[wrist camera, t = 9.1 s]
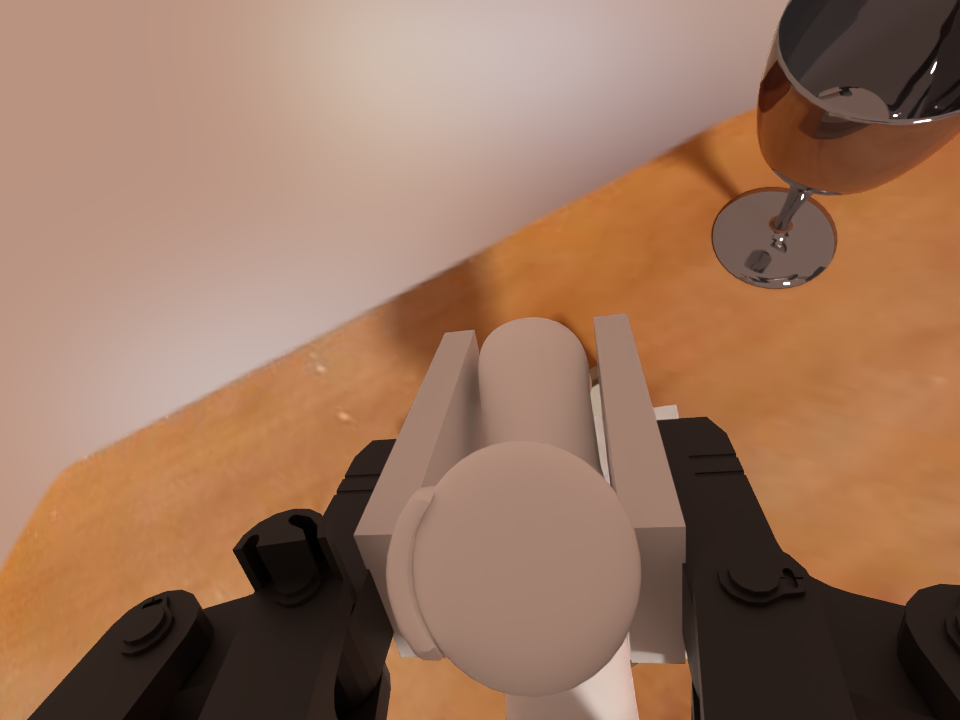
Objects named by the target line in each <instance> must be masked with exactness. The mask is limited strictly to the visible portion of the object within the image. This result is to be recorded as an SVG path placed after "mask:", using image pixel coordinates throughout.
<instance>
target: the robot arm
mask: <svg viewBox="0 0 960 720" xmlns="http://www.w3.org/2000/svg"><path fill="white" fill-rule="evenodd" d="M593 318H594V330H595V341H596V353H597V365H598V377H599V388H600V400H601V412H602V420H603V429H604V437H605V445H606V454H607V462H608V470H609V479H610V486H611V487H612V488H613V490H614V491H615V492H616V494H617V495H618V497H619V499H620V500H621V502H622V504H623V505H624V507H625V509H626V510H627V513H628V515H629V518H630V520H631V523H632V525H633V528H634V530H635V534H636V538H637V543H638V547H639V552H640V561H641V577H642V578H641V587H640V597H639V603H638V607H637V610H636V614H635V617H634V621H633V624H632V626H631V628H630V630H629V632H628V636H629V645H630V653H631V661H632V663H673V664H685V654H687V658H688V663H689V667H690V672H691V677H692V717H691V720H960V585H948V584H938V585H935V586H931V587H927V588H924V589H920V590H918V591H917V592H916V593H915V594H914V595H913V597H912V598H911V599H910V600H909V601H908V602H907V604H906V606H903V605H898V604H894V603H890V602H886V601H882V600H878V599H874V598H869V597H865V596H861V595H857V594H853V593H850V592H846V591H843V590H840V589H837V588H834V587H831V586H829V585H827V584H825V583H823V582H821V581H819V580H817V579H815V578H813V577H811V576H810V575H809V574H808V572H807V570H806V569H805V568H803V567H802V566H801V565H800V564H799V563H798V562H797V561H796V560H794V559H793V558H792V557H791V556H790V555H789V554H787V553H785V552H783V551H782V549H781V548H780V546H779V545H778V543H777V541H776V539H775V537H774V535H773V533H772V531H771V528H770V526H769V524H768V522H767V520H766V518H765V515H764V513H763V511H762V509H761V507H760V505H759V502H758V500H757V498H756V496H755V494H754V492H753V490H752V487H751V485H750V483H749V481H748V479H747V477H746V475H744V470H743V468H742V466H741V464H740V461H739V459H738V457H737V458H736V453H735V451H734V448H733V446H732V444H731V442H730V440H729V438H728V435H727V433H726V432H724V431H723V430H722V429H721V428H719V427H718V426H717V425H716V424H714V423H713V422H712V421H711V420H710V419H708V418H707V417H696V418H681V419H666V420H656V417H655V414H654V410H653V406H652V403H651V399H650V396H649V392H648V388H647V385H646V381H645V377H644V374H643V370H642V367H641V363H640V359H639V356H638V352H637V349H636V345H635V341H634V338H633V334H632V330H631V327H630V323H629V320H628V316H627V313H625V314H615V315H606V316H597V317H593ZM479 355H480V354H479V349H478V344H477V339H476V334H475V330H466V331H456V332H447V333H445V334H444V336H443V338H442V340H441V342H440V345H439V347H438V349H437V351H436V353H435V356H434V358H433V360H432V362H431V365H430V367H429V369H428V371H427V373H426V376H425V378H424V380H423V382H422V384H421V387H420V389H419V391H418V393H417V396H416V398H415V400H414V402H413V404H412V407H411V409H410V411H409V413H408V415H407V418H406V420H405V422H404V424H403V427H402V429H401V431H400V433H399V435H398V438H397V439H389V440H374V441H372V442H371V443H370V444H369V445H367V446H366V447H365V448H364V449H363V450H362V451H361V452H360V453H359V454H358V455H357V456H355V458H354V460H353V461H352V463H351V465H350V467H349V469H348V471H347V473H346V474H345V479H343V480H342V482H341V484H340V485H339V487H338V489H337V495H334V497H333V498H332V500H331V502H330V504H329V506H328V508H327V510H326V511H325V513H324V515H323V516H322V515H321V514H320V513H318V512H315V511H313V510H311V509H292V510H288V511H284V512H281V513H277V514H275V515H273V516H271V517H269V518H267V519H265V520H263V521H261V522H259V523H258V524H257V525H256V526H254V527H253V528H252V529H251V530H249V531H248V532H247V533H246V534H245V535H243V537H242V538H241V539H240V541H239V542H238V543H237V545H236V546H235V547H234V549H233V552H234V554H235V555H236V557H237V559H238V561H239V563H240V564H241V566H242V568H243V570H244V572H245V574H246V575H247V577H248V579H249V581H250V583H251V585H252V586H253V588H254V590H255V592H254V594H251V595H249V596H246V597H243V598H239V599H236V600H232V601H229V602H226V603H222V604H219V605H215V606H212V607H209V608H205V609H202V607H201V606H200V604H199V602H198V601H197V599H196V598H195V596H194V594H192V593H189V592H187V591H184V590H174V591H166V592H163V593H160V594H158V595H155V596H153V597H150V598H148V599H146V600H144V601H143V602H141V603H140V604H138V605H137V606H135V607H133V608H132V609H130V610H129V611H128V612H126V613H125V614H124V615H123V616H122V617H121V618H120V619H119V620H118V621H117V622H116V623H114V624H113V625H112V626H111V627H110V629H109V630H108V631H107V632H106V633H105V634H104V635H103V636H102V637H101V638H100V640H99V641H98V642H97V643H96V644H95V645H94V646H93V647H92V648H91V650H90V651H89V652H88V653H87V654H86V655H85V656H84V657H83V658H82V660H81V661H80V662H79V663H78V664H77V665H76V666H75V667H74V668H73V669H72V671H71V672H70V673H69V674H68V675H67V676H66V677H65V678H64V679H63V681H62V682H61V683H60V684H59V685H58V686H57V687H56V688H55V689H54V691H53V692H52V693H51V694H50V695H49V696H48V697H47V698H46V699H45V701H44V702H43V703H42V704H41V705H40V706H39V707H38V708H37V709H36V710H35V712H34V713H33V714H32V715H31V716H30V717H29V718H28V719H27V720H386V719H387V712H388V705H389V698H390V691H391V684H390V673H389V671H388V668H387V666H386V664H385V660H386V657H387V653H388V650H389V647H390V643H391V640H392V637H394V640H395V642H396V645H397V648H398V650H399V653H400V655H401V657H418V656H417V655H415V654H414V653H413V651H412V650H411V648H410V646H409V645H408V643H407V642H406V640H405V639H404V637H403V635H402V634H401V632H400V631H399V628H398V625H397V622H396V620H395V617H394V614H393V610H392V607H391V603H390V599H389V596H388V591H387V580H386V565H387V554H388V550H389V546H390V542H391V538H392V534H393V531H394V528H395V525H396V522H397V520H398V518H399V516H400V514H401V512H402V510H403V509H404V507H405V505H406V504H407V502H408V500H409V499H410V497H411V496H412V494H413V493H414V492H416V491H417V490H418V489H420V488H422V487H429V486H436V485H437V484H438V482H439V481H440V480H441V479H442V478H443V476H444V475H445V474H446V473H447V472H448V471H449V470H450V469H451V468H452V467H454V466H455V465H456V464H457V463H458V462H459V461H460V460H462V459H464V458H465V457H467V456H469V455H470V454H472V453H474V452H475V451H477V450H480V449H482V448H484V438H483V426H482V414H481V402H480V390H479V378H478V362H479ZM444 658H446V656H445V657H444Z"/></svg>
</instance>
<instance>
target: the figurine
mask: <svg viewBox="0 0 960 720" xmlns="http://www.w3.org/2000/svg"><path fill="white" fill-rule="evenodd" d="M478 378H479V390H480V402H481V414H482V426H483V438H484V448H482V449H480V450H477V451H475V452H474V453H472V454H470V455H469V456H467V457H465V458H464V459H462V460H460V461H459V462H458V463H457V464H456V465H455V466H454V467H452V468H451V469H450V470H449V471H448V472H447V473H446V474H445V475H444V476H443V478H442V479H441V480H440V481H439V482H438V484H437V485H436V486H429V487H422V488H420V489H418V490H417V491H416V492H414V493H413V494H412V496H411V497H410V499H409V500H408V502H407V504H406V505H405V507H404V509H403V510H402V512H401V514H400V516H399V518H398V520H397V522H396V525H395V528H394V531H393V534H392V538H391V542H390V546H389V550H388V554H387V565H386V580H387V591H388V596H389V599H390V603H391V607H392V610H393V614H394V617H395V620H396V622H397V625H398V628H399V631H400V632H401V634H402V635H403V637H404V639H405V640H406V642H407V643H408V645H409V646H410V648H411V650H412V651H413V653H414V654H415V655H417V656H418V657H420V658H421V659H423V660H441V659H442V658H444V657H445V656H447V657H448V658H449V659H450V660H451V662H452V663H453V664H454V665H455V666H457V667H458V668H459V669H460V670H462V671H463V672H464V673H465V674H467V675H468V676H469V677H470V678H472V679H473V680H475V681H477V682H479V683H481V684H483V685H485V686H487V687H489V688H490V689H493V690H497V691H500V692H503V693H505V703H506V720H639V715H638V710H637V704H636V698H635V691H634V685H633V678H632V671H631V665H630V660H631V653H630V645H629V636H628V632H629V630H630V628H631V626H632V624H633V621H634V617H635V614H636V610H637V607H638V603H639V597H640V587H641V578H642V577H641V561H640V552H639V547H638V543H637V538H636V534H635V530H634V528H633V525H632V523H631V520H630V518H629V515H628V513H627V510H626V509H625V507H624V505H623V504H622V502H621V500H620V499H619V497H618V495H617V494H616V492H615V491H614V490H613V488H612V487H611V486H610V479H609V470H608V462H607V454H606V445H605V437H604V429H603V420H602V414H599V415H593V410H592V403H591V395H590V394H591V390H592V381H591V377H590V372H589V364H588V360H587V356H586V353H585V351H584V348H583V346H582V344H581V343H580V341H579V340H578V338H577V337H576V336H575V334H574V333H573V332H571V331H570V330H569V329H568V328H567V327H565V326H564V325H562V324H560V323H559V322H556V321H553V320H550V319H545V318H536V317H529V318H521V319H517V320H513V321H510V322H507V323H505V324H503V325H501V326H499V327H498V328H496V329H495V330H494V331H492V332H491V334H490V335H489V336H488V337H487V338H486V340H485V342H484V344H483V346H482V348H481V351H480V355H479V362H478ZM653 410H654V414H655V417H656V420H666V419H679V416H678V411H677V406H676V405H670V406H662V407H654V408H653ZM686 658H687V654H685V659H686Z"/></svg>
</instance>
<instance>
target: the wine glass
mask: <svg viewBox="0 0 960 720" xmlns="http://www.w3.org/2000/svg"><path fill="white" fill-rule="evenodd" d="M959 133H960V0H790V1H789V2H788V4H787V6H786V8H785V11H784V12H783V15H782V17H781V19H780V21H779V24H778V26H777V29H776V32H775V35H774V37H773V40H772V43H771V46H770V49H769V53H768V56H767V60H766V63H765V66H764V70H763V74H762V78H761V83H760V89H759V95H758V102H757V137H758V142H759V147H760V151H761V153H762V155H763V157H764V160H765V161H766V163H767V164H768V165H769V167H770V168H771V169H772V170H773V171H774V172H775V174H777V175H778V176H779V177H780V178H781V179H782V180H783V181H785V182H786V183H788V184H790V188H789V189H787V188H779V187H768V188H761V189H756V190H753V191H749V192H747V193H744V194H742V195H740V196H738V197H737V198H735V199H734V200H732V201H731V202H730V203H728V204H727V205H726V206H725V207H724V208H723V210H722V211H721V212H720V214H719V215H718V217H717V219H716V221H715V223H714V228H713V232H712V242H713V247H714V251H715V253H716V255H717V258H718V259H719V261H720V262H721V264H722V265H723V266H724V267H725V268H726V269H727V271H728V272H730V273H731V274H732V275H734V276H735V277H736V278H738V279H740V280H742V281H744V282H745V283H748V284H751V285H754V286H757V287H762V288H768V289H783V288H791V287H795V286H798V285H802V284H804V283H806V282H808V281H811V280H812V279H814V278H815V277H817V276H818V275H820V274H821V273H822V272H823V271H824V270H825V269H826V268H827V266H828V265H829V264H830V262H831V261H832V259H833V256H834V254H835V252H836V247H837V231H836V227H835V224H834V222H833V220H832V218H831V216H830V214H829V213H828V212H827V210H826V209H825V208H824V207H823V206H822V205H821V204H820V203H819V202H817V201H816V200H814V199H813V198H811V197H810V196H811V195H812V194H819V195H850V194H857V193H862V192H865V191H869V190H872V189H875V188H877V187H879V186H882V185H884V184H886V183H888V182H890V181H892V180H895V179H897V178H899V177H900V176H902V175H903V174H905V173H907V172H908V171H910V170H911V169H913V168H914V167H916V166H917V165H919V164H920V163H922V162H923V161H925V160H926V159H928V158H929V157H931V156H932V155H933V154H935V153H936V152H937V151H938V150H940V149H941V148H942V147H943V146H945V145H946V144H947V143H949V142H950V141H951V140H952V139H954V138H955V137H956V136H957V135H958V134H959Z"/></svg>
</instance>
